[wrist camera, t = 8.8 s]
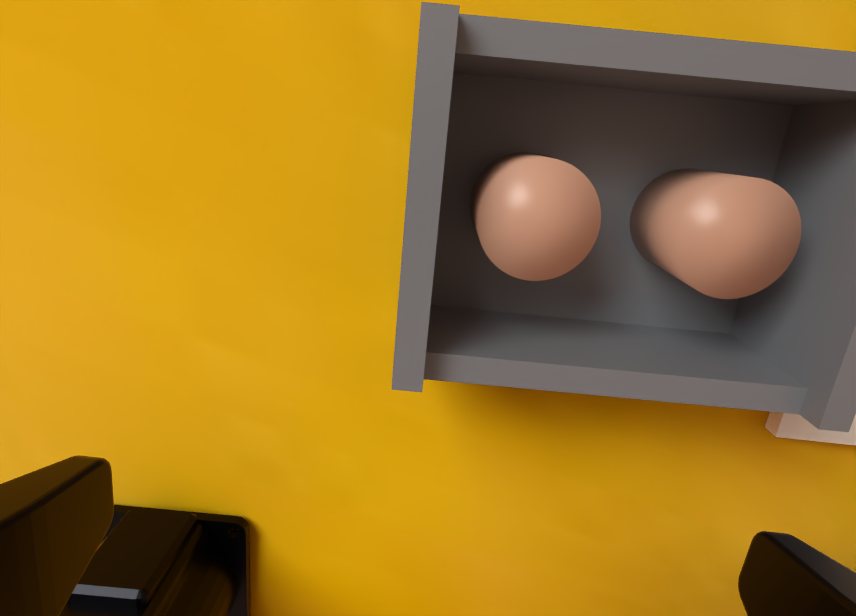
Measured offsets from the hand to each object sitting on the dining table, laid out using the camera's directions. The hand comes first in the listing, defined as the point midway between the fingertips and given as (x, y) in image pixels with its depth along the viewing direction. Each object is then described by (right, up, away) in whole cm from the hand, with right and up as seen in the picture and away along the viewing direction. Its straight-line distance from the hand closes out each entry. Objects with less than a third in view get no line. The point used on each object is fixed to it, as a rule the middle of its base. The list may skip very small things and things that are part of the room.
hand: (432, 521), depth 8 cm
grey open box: (+5, +6, +11) cm, 14 cm away
